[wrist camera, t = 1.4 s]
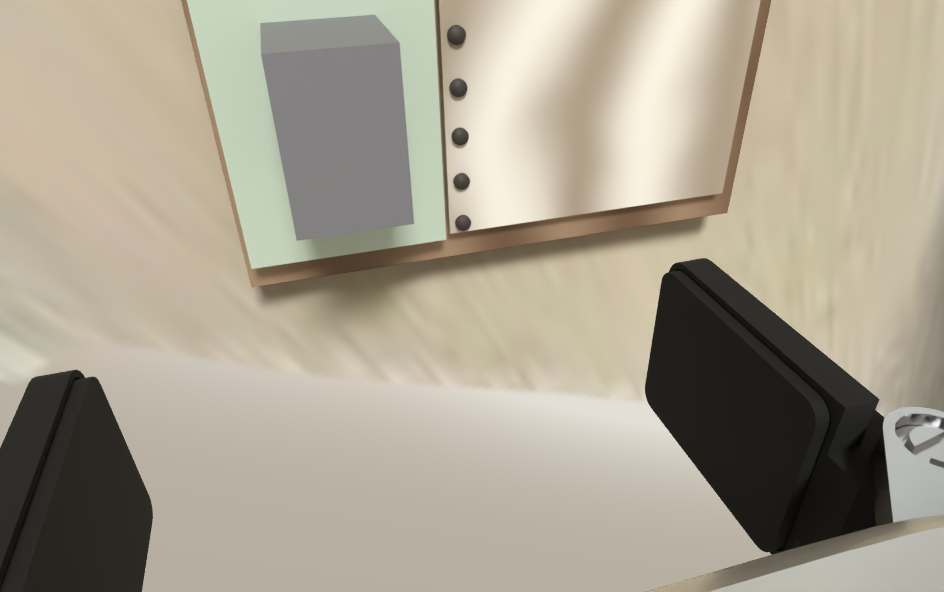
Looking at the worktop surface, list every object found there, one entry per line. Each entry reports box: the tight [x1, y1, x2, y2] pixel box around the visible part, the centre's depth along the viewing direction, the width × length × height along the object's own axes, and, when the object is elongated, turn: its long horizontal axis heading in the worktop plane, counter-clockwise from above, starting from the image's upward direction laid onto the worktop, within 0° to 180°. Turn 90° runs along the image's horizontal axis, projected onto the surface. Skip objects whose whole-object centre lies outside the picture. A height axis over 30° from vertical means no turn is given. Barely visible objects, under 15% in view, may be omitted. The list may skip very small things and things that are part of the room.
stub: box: [187, 0, 446, 269], centre depth 23 cm, size 8×13×6 cm, turn 2°
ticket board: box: [181, 0, 771, 287], centre depth 28 cm, size 24×16×3 cm, turn 92°
